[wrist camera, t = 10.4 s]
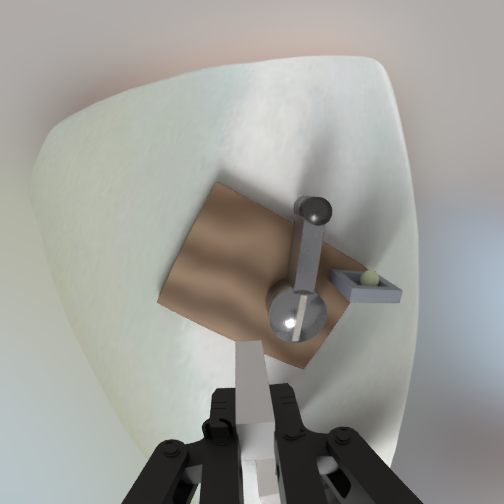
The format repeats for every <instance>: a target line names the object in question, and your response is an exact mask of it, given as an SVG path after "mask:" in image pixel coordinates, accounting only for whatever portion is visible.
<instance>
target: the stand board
mask: <svg viewBox="0 0 504 504" xmlns="http://www.w3.org/2000/svg"><path fill="white" fill-rule="evenodd" d="M293 227H294V224H292V223H290V222H289V221H287V220H285V219H283V218H282V217H280V216H278V215H276V214H275V213H273V212H271V211H269V210H268V209H266V208H264V207H262V206H260V205H259V204H257V203H255V202H253V201H251V200H249V199H248V198H246V197H244V196H242V195H240V194H238V193H237V192H235V191H233V190H231V189H229V188H227V187H225V186H224V185H222V184H220V183H218V182H216V184H215V185H214V187H213V189H212V191H211V193H210V195H209V197H208V198H207V200H206V202H205V204H204V206H203V208H202V210H201V212H200V214H199V215H198V217H197V219H196V221H195V223H194V225H193V227H192V229H191V231H190V233H189V235H188V237H187V239H186V241H185V243H184V245H183V247H182V249H181V251H180V253H179V255H178V257H177V259H176V261H175V263H174V266H173V268H172V270H171V272H170V274H169V276H168V278H167V280H166V283H165V285H164V287H163V289H162V291H161V293H160V296H159V298H158V300H157V303H159V304H160V305H162V306H164V307H166V308H168V309H170V310H172V311H174V312H176V313H178V314H179V315H181V316H183V317H185V318H187V319H189V320H191V321H193V322H195V323H197V324H199V325H202V326H204V327H206V328H208V329H210V330H212V331H214V332H216V333H218V334H220V335H223V336H225V337H227V338H229V339H231V340H234V341H236V342H243V341H258V340H262V346H263V352H264V354H266V355H268V356H271V357H273V358H276V359H278V360H281V361H283V362H286V363H288V364H291V365H293V366H296V367H298V368H301V369H304V368H305V366H306V365H307V364H308V362H309V361H310V360H311V358H312V357H313V356H314V354H315V353H316V352H317V350H318V349H319V348H320V346H321V345H322V343H323V342H324V341H325V339H326V338H327V336H328V335H329V333H330V332H331V331H332V329H333V328H334V326H335V325H336V323H337V322H338V320H339V319H340V317H341V316H342V314H343V313H344V311H345V310H346V308H347V307H348V305H349V304H350V302H349V301H348V300H347V299H346V298H345V297H344V296H343V295H342V294H341V293H340V292H339V291H338V290H337V289H336V288H335V286H334V285H333V284H332V283H331V282H330V281H329V274H330V269H337V270H350V271H362V272H365V271H367V270H369V269H367V268H366V267H364V266H362V265H361V264H359V263H358V262H356V261H354V260H353V259H351V258H349V257H348V256H346V255H345V254H343V253H341V252H340V251H338V250H336V249H335V248H333V247H331V246H330V245H328V244H326V243H325V242H323V241H322V248H321V254H320V260H319V266H318V272H317V278H316V283H315V290H316V291H317V293H318V294H319V295H320V297H321V298H322V299H323V301H324V302H325V304H326V307H327V320H326V323H325V325H324V327H323V328H322V330H321V331H320V332H319V333H318V334H317V335H316V336H315V337H313V338H312V339H310V340H308V341H305V342H301V343H290V342H286V341H283V340H281V339H280V338H278V337H277V336H276V335H275V334H274V332H273V331H272V329H271V326H270V322H269V318H268V314H267V310H266V296H267V294H268V292H269V290H270V288H271V287H272V286H273V285H274V284H275V283H277V282H278V281H280V280H282V279H284V278H286V277H287V270H288V263H289V256H290V249H291V242H292V235H293Z"/></svg>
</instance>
